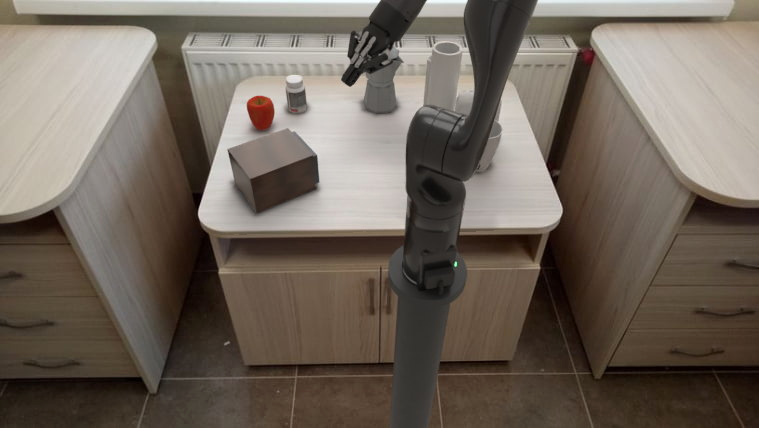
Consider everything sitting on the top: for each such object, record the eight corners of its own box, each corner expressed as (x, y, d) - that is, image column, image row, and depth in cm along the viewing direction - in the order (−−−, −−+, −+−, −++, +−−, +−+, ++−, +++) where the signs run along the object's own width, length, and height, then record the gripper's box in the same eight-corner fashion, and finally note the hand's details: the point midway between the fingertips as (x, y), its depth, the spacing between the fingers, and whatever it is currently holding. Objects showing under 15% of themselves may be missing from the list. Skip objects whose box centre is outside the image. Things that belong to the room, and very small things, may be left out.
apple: (281, 124, 131) (278, 97, 126) (265, 137, 127) (260, 109, 122) (262, 116, 133) (257, 89, 128) (244, 128, 130) (239, 101, 124)
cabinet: (292, 161, 121) (287, 127, 115) (316, 189, 114) (313, 155, 108) (234, 183, 115) (227, 149, 109) (256, 213, 109) (249, 179, 102)
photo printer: (451, 140, 127) (457, 94, 119) (451, 129, 130) (457, 84, 122) (495, 143, 127) (504, 97, 118) (494, 132, 130) (503, 87, 121)
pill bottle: (310, 108, 136) (308, 78, 130) (296, 115, 134) (293, 85, 128) (298, 101, 139) (295, 71, 133) (284, 108, 136) (280, 78, 130)
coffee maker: (410, 104, 138) (414, 38, 125) (391, 120, 133) (394, 53, 120) (362, 86, 144) (362, 21, 131) (343, 101, 139) (340, 34, 126)
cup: (451, 159, 122) (456, 122, 115) (481, 149, 125) (487, 112, 118) (471, 180, 117) (478, 142, 110) (502, 169, 120) (510, 132, 113)
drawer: (302, 156, 121) (299, 129, 116) (324, 180, 115) (322, 153, 110) (245, 177, 115) (239, 150, 110) (265, 204, 109) (260, 176, 104)
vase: (454, 132, 130) (465, 55, 116) (424, 132, 130) (431, 55, 116) (449, 106, 138) (458, 31, 124) (421, 105, 138) (427, 30, 124)
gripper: (367, -12, 107) (317, 61, 110) (407, 12, 99) (351, 90, 102) (388, 8, 112) (340, 77, 116) (427, 33, 105) (374, 106, 108)
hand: (345, 83), depth 109 cm, fingers closed
